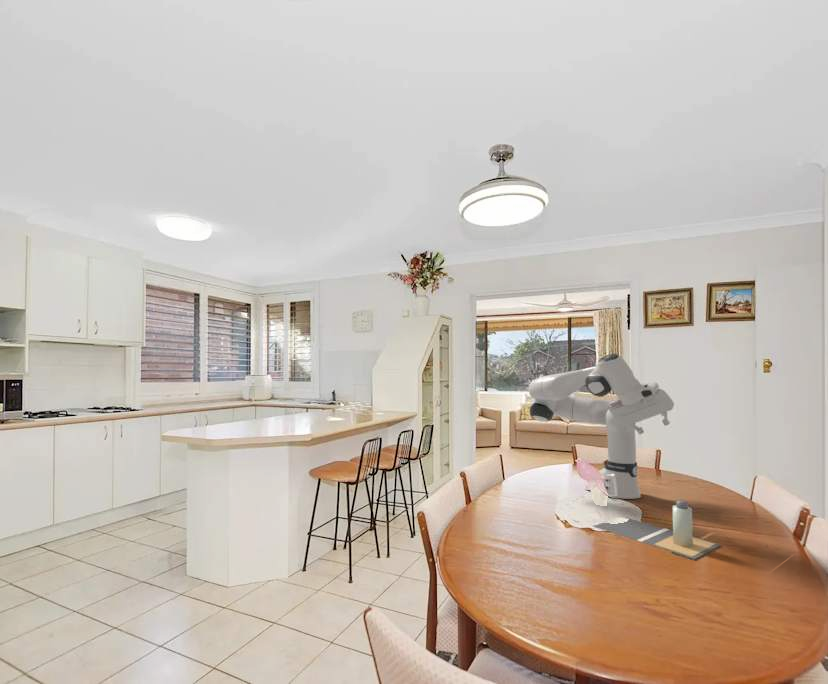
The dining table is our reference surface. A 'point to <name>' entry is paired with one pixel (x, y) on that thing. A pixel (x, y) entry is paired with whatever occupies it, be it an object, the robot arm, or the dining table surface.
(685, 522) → the bottle
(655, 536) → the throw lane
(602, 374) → the robot arm
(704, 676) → the dining table surface
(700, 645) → the dining table surface
